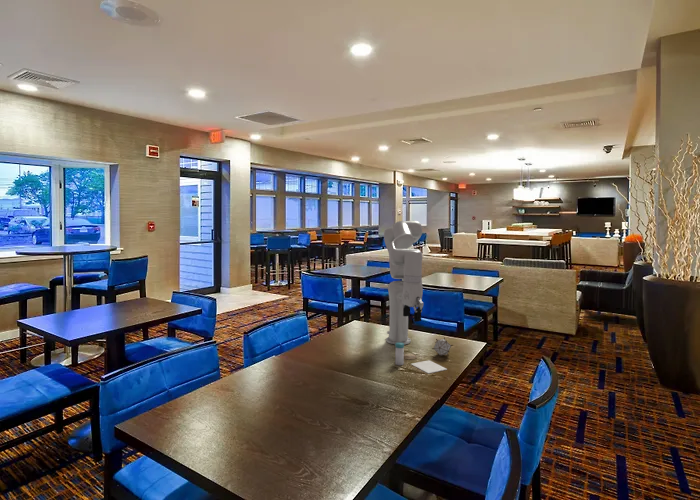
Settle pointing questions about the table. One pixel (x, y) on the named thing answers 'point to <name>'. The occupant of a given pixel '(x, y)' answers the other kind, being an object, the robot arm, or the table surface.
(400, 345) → the marker
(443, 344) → the game die
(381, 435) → the table surface
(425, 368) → the paper
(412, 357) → the disc
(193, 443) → the table surface
